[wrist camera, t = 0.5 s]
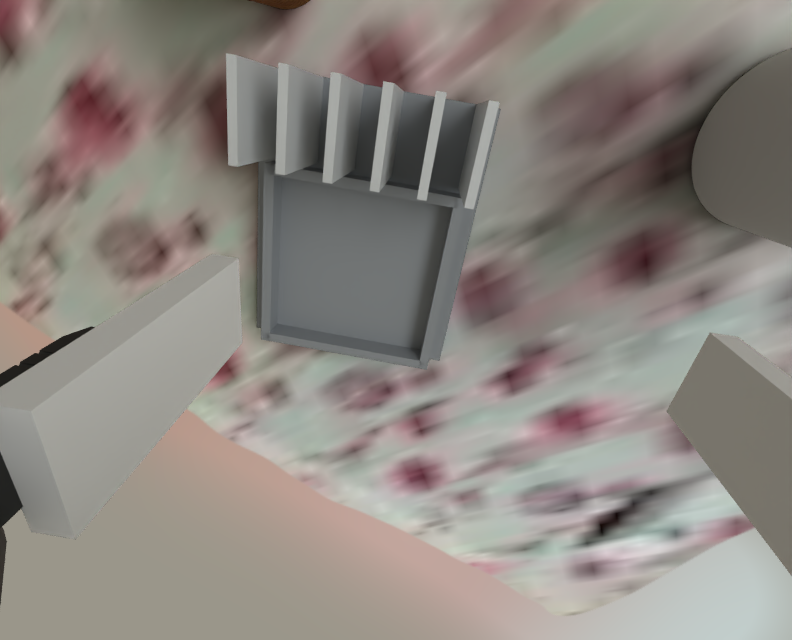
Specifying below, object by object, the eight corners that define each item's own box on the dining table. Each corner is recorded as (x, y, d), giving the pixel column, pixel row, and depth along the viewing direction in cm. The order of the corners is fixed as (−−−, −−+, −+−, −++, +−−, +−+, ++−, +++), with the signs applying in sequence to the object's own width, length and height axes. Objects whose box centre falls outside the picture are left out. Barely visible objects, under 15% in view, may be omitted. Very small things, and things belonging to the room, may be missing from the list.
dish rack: (439, 352, 41) (439, 413, 33) (262, 320, 42) (217, 372, 33) (498, 109, 32) (520, 105, 23) (266, 67, 32) (204, 49, 23)
